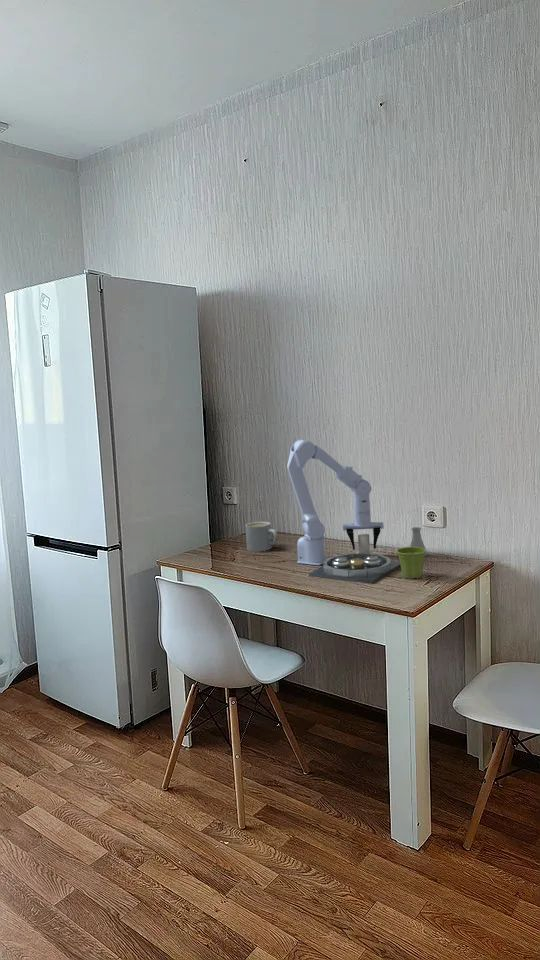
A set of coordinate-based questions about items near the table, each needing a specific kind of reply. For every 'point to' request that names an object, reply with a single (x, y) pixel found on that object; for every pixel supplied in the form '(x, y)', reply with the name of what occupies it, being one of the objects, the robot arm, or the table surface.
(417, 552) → the plant pot
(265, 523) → the coffee mug
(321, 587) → the table surface
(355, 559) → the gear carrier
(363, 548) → the white mushroom peg
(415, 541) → the flask
